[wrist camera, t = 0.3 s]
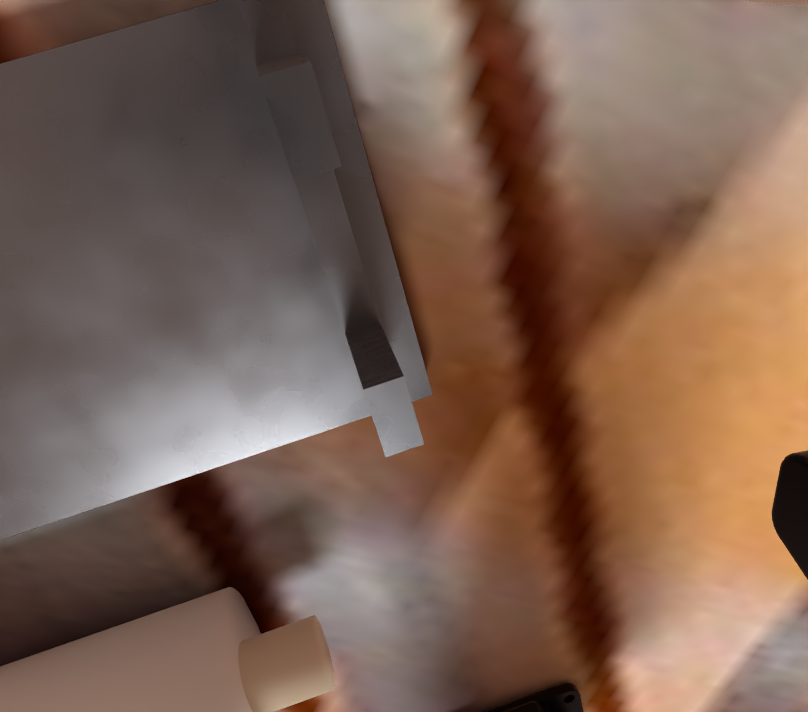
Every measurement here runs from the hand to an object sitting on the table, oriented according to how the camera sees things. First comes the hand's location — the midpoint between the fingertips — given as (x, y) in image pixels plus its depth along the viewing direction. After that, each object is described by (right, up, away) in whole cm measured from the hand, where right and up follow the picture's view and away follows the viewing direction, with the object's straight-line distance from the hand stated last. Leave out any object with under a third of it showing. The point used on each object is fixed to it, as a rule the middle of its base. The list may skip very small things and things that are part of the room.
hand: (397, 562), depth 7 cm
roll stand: (-10, +3, +12) cm, 16 cm away
